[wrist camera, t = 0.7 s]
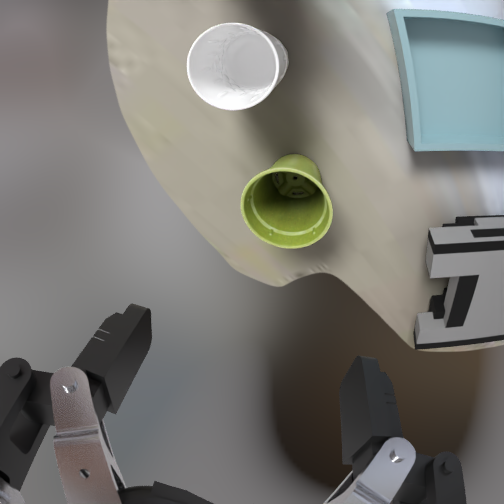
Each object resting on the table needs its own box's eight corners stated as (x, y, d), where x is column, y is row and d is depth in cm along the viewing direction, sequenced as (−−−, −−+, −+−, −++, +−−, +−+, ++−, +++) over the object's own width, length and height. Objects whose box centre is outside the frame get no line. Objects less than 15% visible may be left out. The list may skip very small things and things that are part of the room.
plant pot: (329, 136, 33) (326, 164, 26) (337, 206, 38) (336, 247, 32) (252, 145, 36) (230, 174, 29) (268, 210, 41) (252, 250, 35)
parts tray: (386, 13, 22) (393, 9, 19) (503, 23, 16) (519, 23, 13) (406, 139, 30) (414, 151, 27) (511, 140, 25) (526, 152, 22)
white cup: (239, 100, 33) (207, 122, 25) (214, 42, 28) (173, 45, 21) (304, 81, 29) (292, 94, 22) (279, 18, 25) (258, 8, 18)
